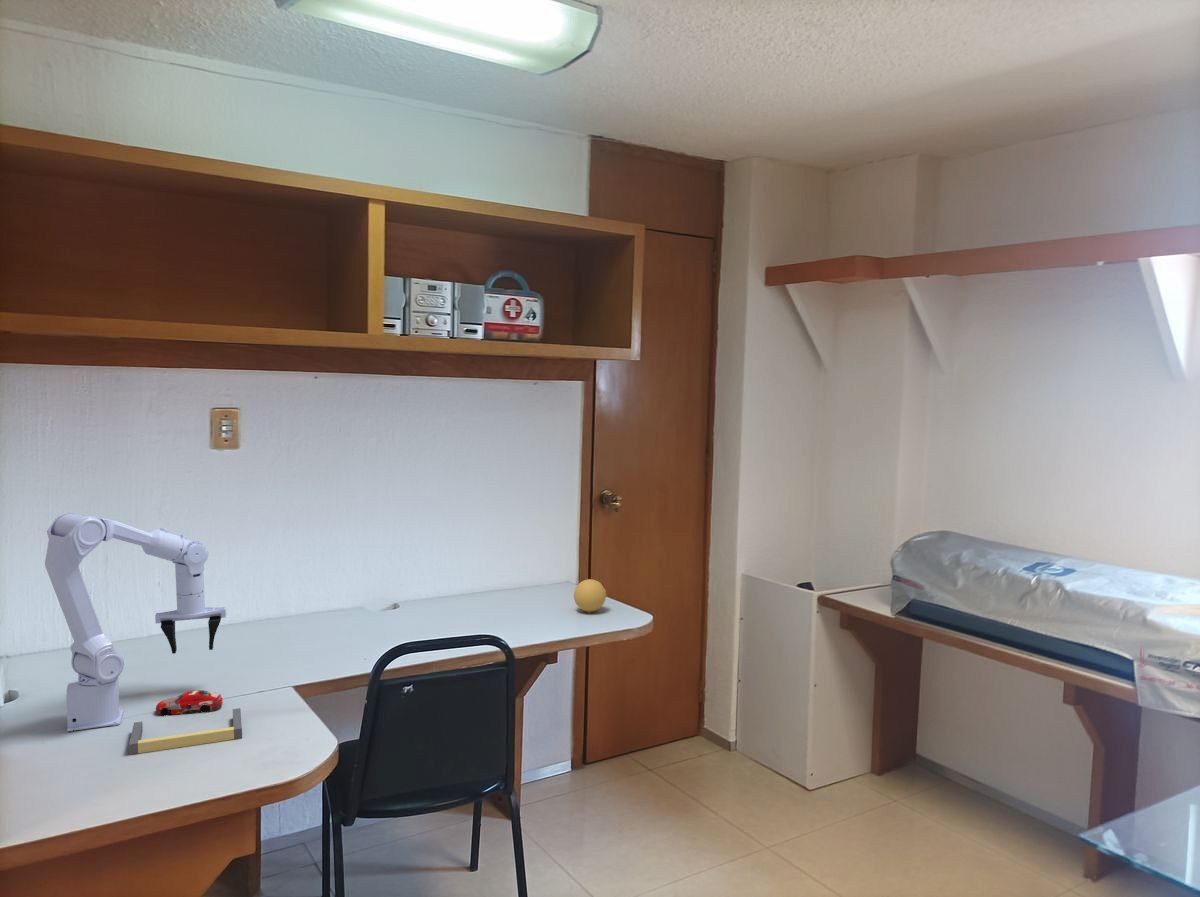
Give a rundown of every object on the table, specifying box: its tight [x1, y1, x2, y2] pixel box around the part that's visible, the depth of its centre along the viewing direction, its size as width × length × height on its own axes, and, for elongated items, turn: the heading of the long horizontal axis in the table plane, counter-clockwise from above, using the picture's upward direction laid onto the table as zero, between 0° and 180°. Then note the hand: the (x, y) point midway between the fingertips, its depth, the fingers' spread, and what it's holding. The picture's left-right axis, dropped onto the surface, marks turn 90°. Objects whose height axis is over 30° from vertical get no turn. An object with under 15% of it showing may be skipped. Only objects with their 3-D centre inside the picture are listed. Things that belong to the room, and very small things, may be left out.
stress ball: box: [573, 578, 607, 614], centre depth 270 cm, size 10×10×10 cm
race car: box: [155, 689, 224, 717], centre depth 190 cm, size 13×5×4 cm, turn 103°
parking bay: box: [128, 707, 243, 755], centre depth 177 cm, size 20×12×2 cm, turn 114°
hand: (192, 650), depth 201 cm, fingers open, 7 cm apart
